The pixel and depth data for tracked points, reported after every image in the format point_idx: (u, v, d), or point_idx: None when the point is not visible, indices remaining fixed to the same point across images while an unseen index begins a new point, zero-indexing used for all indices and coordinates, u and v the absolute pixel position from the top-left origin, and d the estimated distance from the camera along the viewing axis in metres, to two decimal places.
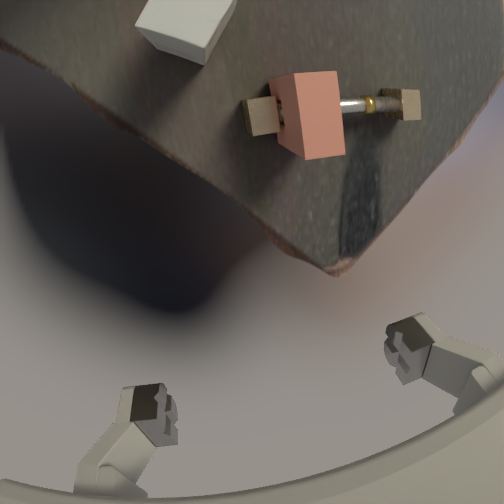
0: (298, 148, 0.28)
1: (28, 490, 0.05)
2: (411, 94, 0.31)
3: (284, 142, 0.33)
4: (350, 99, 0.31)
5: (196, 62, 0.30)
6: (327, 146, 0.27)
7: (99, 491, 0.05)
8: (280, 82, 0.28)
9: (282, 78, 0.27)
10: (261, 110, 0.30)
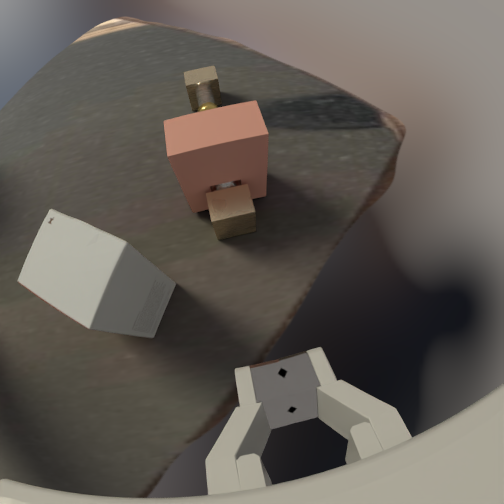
0: (258, 149, 0.25)
1: (28, 490, 0.04)
2: (189, 77, 0.34)
3: (261, 181, 0.30)
4: None
5: (171, 291, 0.30)
6: (249, 116, 0.24)
7: (245, 484, 0.06)
8: (187, 186, 0.27)
9: (181, 181, 0.26)
10: (223, 205, 0.28)
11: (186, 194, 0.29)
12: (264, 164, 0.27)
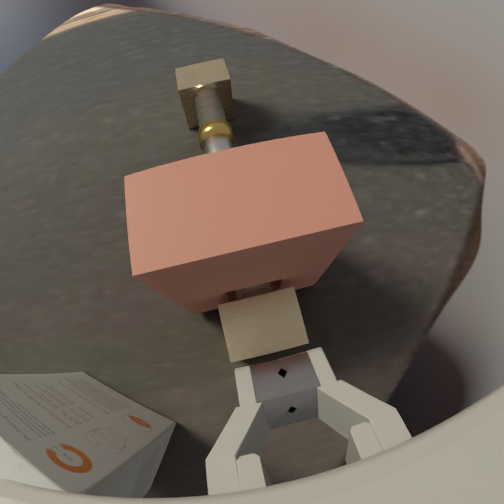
0: (331, 244, 0.12)
1: (28, 490, 0.04)
2: (184, 76, 0.21)
3: (314, 275, 0.17)
4: None
5: (169, 436, 0.17)
6: (317, 171, 0.11)
7: (245, 484, 0.06)
8: (184, 298, 0.15)
9: (171, 295, 0.14)
10: (251, 331, 0.15)
11: (182, 303, 0.16)
12: (330, 258, 0.14)
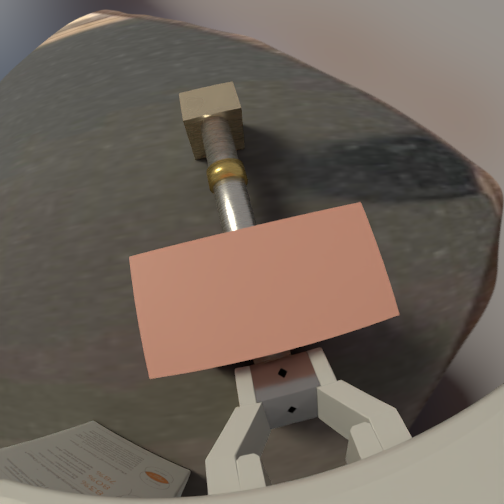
0: None
1: (28, 490, 0.05)
2: (189, 103, 0.20)
3: None
4: (221, 210, 0.18)
5: (185, 484, 0.16)
6: (352, 257, 0.10)
7: (245, 484, 0.06)
8: None
9: None
10: None
11: None
12: None
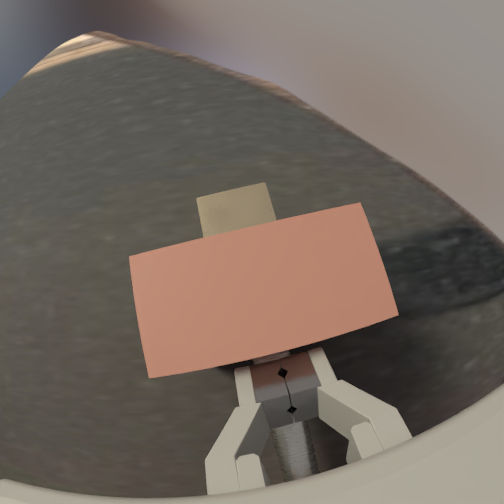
0: None
1: (28, 490, 0.04)
2: (211, 217, 0.17)
3: None
4: None
5: None
6: (351, 257, 0.10)
7: (245, 484, 0.06)
8: None
9: None
10: None
11: None
12: None
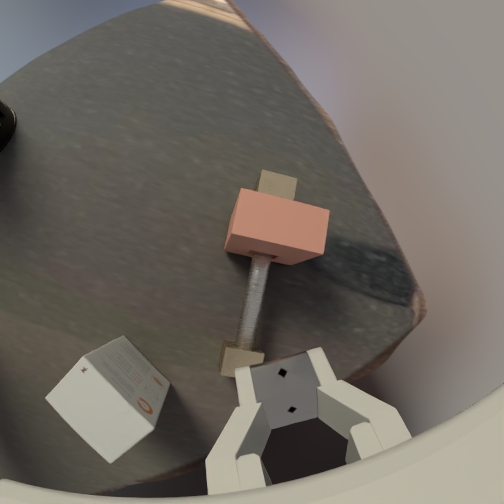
0: (307, 254, 0.28)
1: (28, 490, 0.04)
2: (265, 182, 0.33)
3: (293, 261, 0.33)
4: (254, 262, 0.32)
5: None
6: (316, 226, 0.26)
7: (245, 485, 0.06)
8: (233, 244, 0.30)
9: (230, 241, 0.29)
10: (236, 365, 0.30)
11: (227, 245, 0.32)
12: (304, 259, 0.30)
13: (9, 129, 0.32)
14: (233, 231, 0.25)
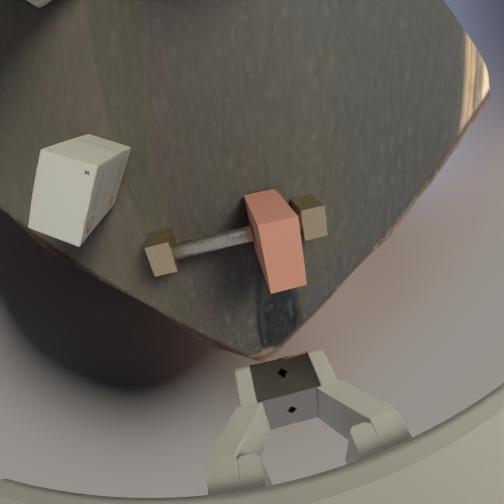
0: (266, 278, 0.34)
1: (28, 490, 0.04)
2: (314, 212, 0.37)
3: (258, 258, 0.39)
4: (244, 230, 0.37)
5: None
6: (289, 281, 0.33)
7: (245, 485, 0.06)
8: (251, 213, 0.34)
9: (251, 213, 0.33)
10: (158, 255, 0.36)
11: (248, 206, 0.35)
12: (263, 271, 0.37)
13: None
14: (259, 226, 0.30)
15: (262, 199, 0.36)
